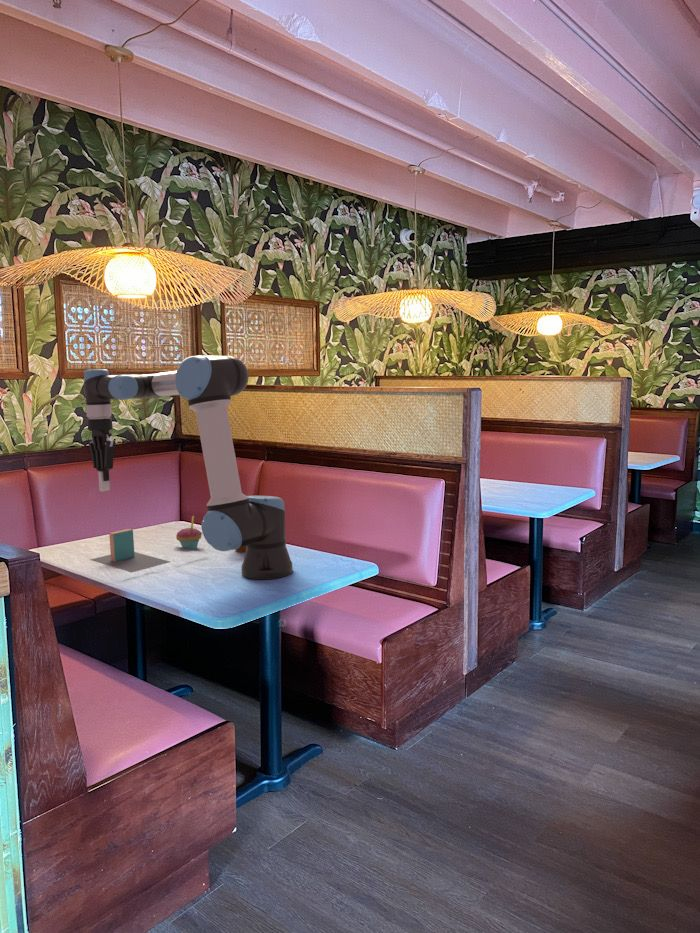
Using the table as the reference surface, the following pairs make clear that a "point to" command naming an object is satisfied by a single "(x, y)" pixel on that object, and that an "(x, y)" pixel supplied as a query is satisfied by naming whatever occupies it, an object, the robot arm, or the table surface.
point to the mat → (132, 562)
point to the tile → (121, 545)
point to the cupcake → (189, 537)
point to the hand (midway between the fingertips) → (104, 490)
